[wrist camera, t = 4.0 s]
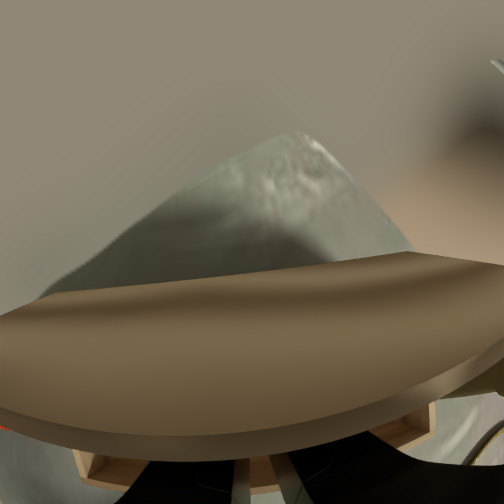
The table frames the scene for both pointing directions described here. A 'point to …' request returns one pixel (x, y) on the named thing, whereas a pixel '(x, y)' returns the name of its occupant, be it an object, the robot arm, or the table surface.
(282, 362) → the carton flap
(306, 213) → the table surface
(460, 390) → the cork
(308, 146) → the table surface
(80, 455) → the kraft carton
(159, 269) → the table surface
